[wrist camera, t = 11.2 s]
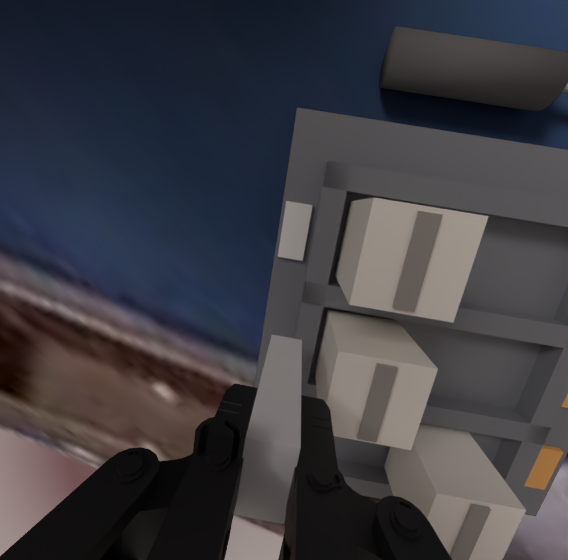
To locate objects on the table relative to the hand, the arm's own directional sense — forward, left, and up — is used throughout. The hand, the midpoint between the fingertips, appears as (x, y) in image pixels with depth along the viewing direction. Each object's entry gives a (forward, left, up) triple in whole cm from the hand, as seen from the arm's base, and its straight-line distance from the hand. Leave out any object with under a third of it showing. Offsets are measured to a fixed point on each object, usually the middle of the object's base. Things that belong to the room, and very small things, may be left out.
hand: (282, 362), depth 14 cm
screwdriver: (+11, +15, -5) cm, 20 cm away
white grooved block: (+4, 0, -3) cm, 5 cm away
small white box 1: (+4, +6, -3) cm, 8 cm away
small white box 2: (+10, -6, -3) cm, 12 cm away
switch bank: (+9, +1, -5) cm, 10 cm away
